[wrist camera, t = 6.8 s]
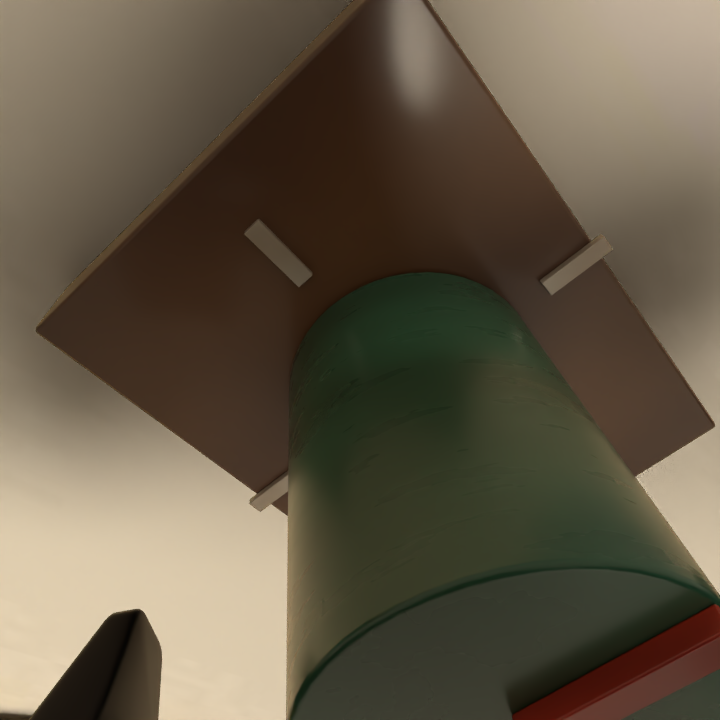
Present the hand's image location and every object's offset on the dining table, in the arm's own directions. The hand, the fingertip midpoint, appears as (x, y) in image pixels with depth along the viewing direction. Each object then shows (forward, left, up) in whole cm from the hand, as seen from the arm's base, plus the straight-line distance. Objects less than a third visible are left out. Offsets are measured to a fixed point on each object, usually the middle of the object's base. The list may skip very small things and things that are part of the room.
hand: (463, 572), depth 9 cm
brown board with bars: (0, 0, -7) cm, 7 cm away
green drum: (0, 0, -5) cm, 5 cm away
